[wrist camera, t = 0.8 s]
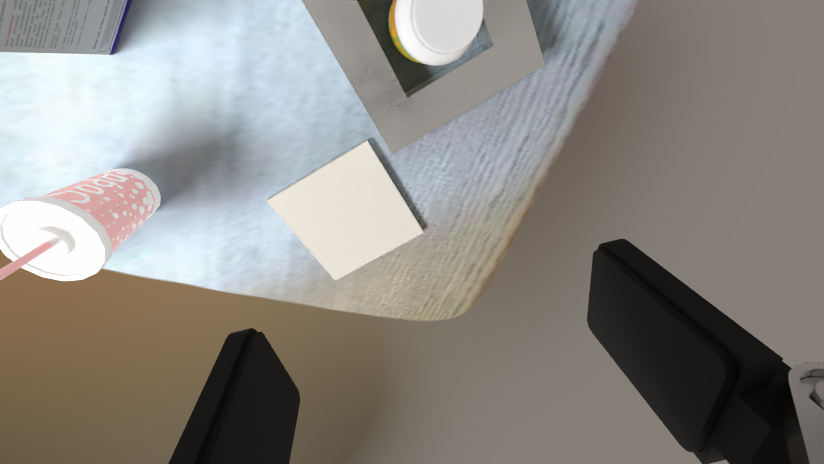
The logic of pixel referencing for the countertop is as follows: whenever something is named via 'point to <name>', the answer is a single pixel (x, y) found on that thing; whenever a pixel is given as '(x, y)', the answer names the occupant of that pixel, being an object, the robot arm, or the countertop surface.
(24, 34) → the supplement box
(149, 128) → the countertop surface
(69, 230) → the beverage cup
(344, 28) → the concrete holder
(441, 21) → the supplement bottle
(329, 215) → the plastic mat
